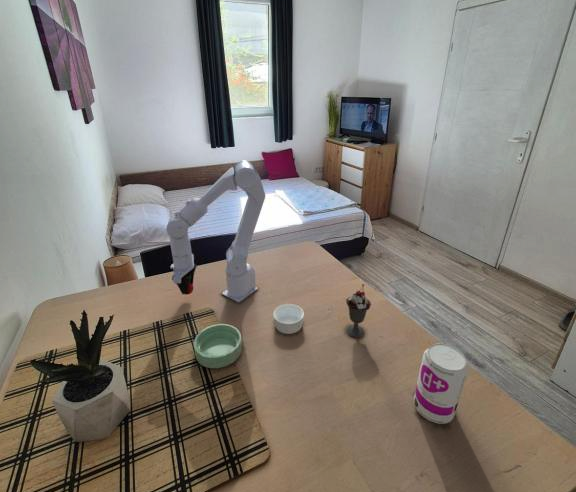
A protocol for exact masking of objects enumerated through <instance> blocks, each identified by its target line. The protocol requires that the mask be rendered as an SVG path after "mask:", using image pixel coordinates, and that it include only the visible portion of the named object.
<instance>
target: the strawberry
mask: <svg viewBox="0 0 576 492" xmlns="http://www.w3.org/2000/svg"><path fill="white" fill-rule="evenodd" d="M193 291H194V284H193V285H192V284H191V283H190V284H189V294H185V296H188V295H191V294H192V293H193Z"/></svg>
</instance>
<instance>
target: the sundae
mask: <svg viewBox="0 0 576 492" xmlns="http://www.w3.org/2000/svg"><path fill="white" fill-rule="evenodd" d="M364 286H365V284H364V283H363V284H361V288H360V290H356V292H354V293H352V295H351V296H350V297H347V298H346V300H345V302H346V303H345V304H346V306H347V307H348V316H349V319H350V321H351V322H352V323H353V324H352V325H349V326H348V327H347V328H346V333H347V335H348V336H350V337H352V338H357V339H358V338H362V337H363V336H364V335H365V331H364V328H363V327H361V326H359V324H361V323H363V322H364V321H365V318H366V315H367V311H368V310H370V308H371V305H372V302H371V301H370V300H369V299H368V297H367V296H366V293H365V291H364V290H365V289H363V288H364ZM361 290H362V291H361Z"/></svg>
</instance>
